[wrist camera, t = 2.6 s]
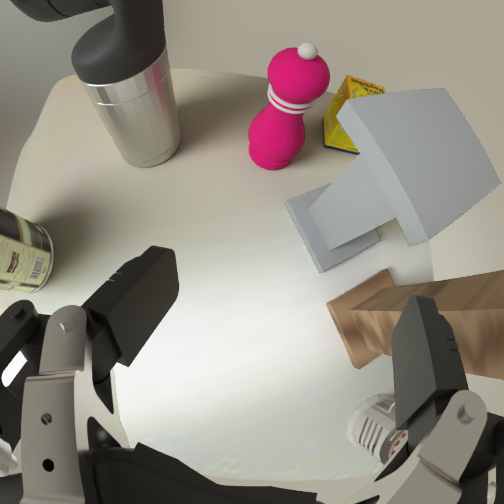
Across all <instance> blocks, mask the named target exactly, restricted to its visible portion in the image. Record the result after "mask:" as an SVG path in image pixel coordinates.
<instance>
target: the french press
mask: <svg viewBox="0 0 504 504" xmlns="http://www.w3.org/2000/svg"><path fill="white" fill-rule="evenodd" d="M396 431H397V430H396V417H395V397H393V396H391V395H388V394H380V395H375V396H373V397H371V398H369V399H367V400H365V401H364V402H363V403H362V404H361V405H360V406H359V407H358V408H356V409H355V411H354V413H353V414H352V416H351V418H350V419H349V421H348V425H347V429H346V435H347V440H348V442H349V443H350V444H351V445H352V446H353V447H354V448H357V449H361V450H364V449H366V450H367V451H368V450H369V451H368V452H369V453H372V452H373V453H372V454H374V455H373V456H374V457H375V458H376V459H377V460H378V461H380V462H381V463H382V464H383V465H385V464H386V462H387V461H388V460H389V459H390V458H391V456H392V455H393V454H394V453H395V452H396V450H397V449H398V448H399V447H400V445H401V444H402V443H403V441H404V440H405V439H406V438H408V430H400V431H399V432H398V433H397V435H396V436H395V437H394V438H393V439H392V441H389V440H390V438H391V437H392V436H393V435H394V434H395V432H396ZM371 451H372V452H371ZM380 459H381V460H380ZM495 492H496V483H495V482H491V483H489V484H488V496H487V499H489V498H491V497H492V496H493V495H494V493H495Z"/></svg>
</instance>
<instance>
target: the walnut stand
mask: <svg viewBox="0 0 504 504" xmlns="http://www.w3.org/2000/svg"><path fill="white" fill-rule="evenodd" d="M411 295H419V296H425V297H431V298H433V299H434V300H435V303H436V306H437V309H438V312H439V314H440V315H443V316H444V317H445V318H446V320H447V321H448V322H449V324H450V325H451V326H452V329H453V333H454V336H455V342H457V346H458V349H459V350H458V352H460V356H461V360H462V363H463V367H464V371H465V373H469V374H474V375H479V376H485V377H490V378H496V379H503V380H504V270H500V271H496V272H490V273H484V274H479V275H473V276H467V277H461V278H455V279H448V280H442V281H435V282H428V283H421V284H414V285H406V286H399V287H395V285H394V283H393V280H392V278H391V276H390V273H389V271H388V269H384V270H381V271H380V272H378V273H377V274H375V275H373V276H372V277H370V278H369V279H367V280H365V281H364V282H362V283H361V284H359V285H357V286H356V287H354V288H352V289H351V290H349V291H347V292H346V293H344V294H342V295H340V296H339V297H337V298H335V299H334V300H332V301H330V302H328V303H327V304H326V305H327V307H328V309H329V312H330V314H331V316H332V318H333V320H334V322H335V325H336V327H337V329H338V331H339V334H340V336H341V338H342V340H343V342H344V345H345V347H346V349H347V352H348V354H349V356H350V358H351V361H352V363H353V365H354V367H355V368H357V369H360V368H362V367H363V366H365V365H366V364H368V363H369V362H371V361H372V360H373V359H375V358H376V357H378V356H379V355H380V354H386V355H390V356H392V349H391V340H392V334H393V331H394V328H395V326H396V324H397V322H398V320H399V318H400V316H401V314H402V312H403V310H404V308H405V306H406V303H407V301H408V299H409V297H410V296H411Z"/></svg>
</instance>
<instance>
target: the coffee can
mask: <svg viewBox="0 0 504 504" xmlns="http://www.w3.org/2000/svg"><path fill="white" fill-rule="evenodd" d="M53 262H54V248H53V243H52V240H51V237H50V235H49V234H48V232H47V231H46V230H45V229H44V228H43V227H41V226H39V225H36V224H34V223H32V222H29V221H28V220H25V219H23V218H21V217H19V216H17V215H16V214H14V213H12V212H10V211H8V210H6V209H4V208H2V207H0V290H9V291H18V292H25V293H33V292H36V291H38V290H39V289H41V288H42V287H43V286H44V285H45V283H46V282H47V280H48V278H49V276H50V274H51V271H52V267H53Z"/></svg>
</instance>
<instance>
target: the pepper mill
mask: <svg viewBox="0 0 504 504" xmlns="http://www.w3.org/2000/svg"><path fill="white" fill-rule="evenodd" d="M317 53H318V50H317V48H316V46H315V45H314V44H312V43H309V42H305V43H302V44H300V46H299V47H298V48H287V49H285V50H282V51H280V52H278V53H277V54H276V55H275V56H274V57H273V59H272V60H271V62H270V64H269V67H268V79H269V82H270V83H269V88H268V91H267V95H268V98H269V100H270V103H269V105H268V106H267V107H266V108H264V109H263V110H262V111H260V112H259V113H258V114H257V115H256V117H255V118H254V119H253V121H252V123H251V125H250V128H249V132H248V137H249V141H250V145H249V154H250V157H251V158H252V160H253V161H254V162H255V163H256V164H257V165H258V166H260V167H262V168H264V169H267V170H279V169H282V168H284V167H286V166H287V165H288V164H289V163H290V161H291V159H292V157H294V156H295V155H297V154H298V153H299V151H300V150H301V148H302V146H303V143H304V140H305V128H304V124H303V120H302V116H303V113H305V112H307V111H309V110H310V109H311V108H312V106H313V104H314V102H315V100H316V99H317V98H319V97H320V96H321V95H322V94H323V93H324V92H325V91H326V89H327V87H328V85H329V81H330V73H329V69H328V66H327V64H326V63H325V61H324V60H323V59H322V58H321V57H320V56H319V55H317Z"/></svg>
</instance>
